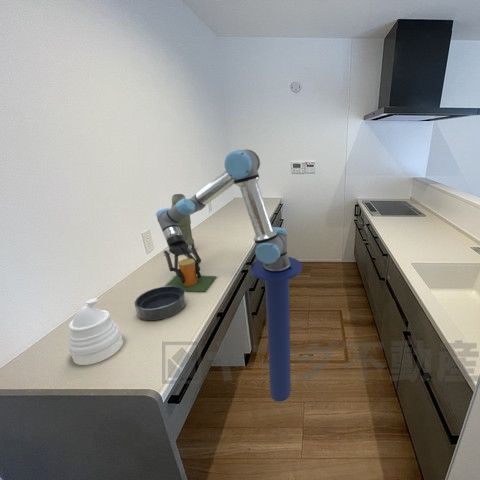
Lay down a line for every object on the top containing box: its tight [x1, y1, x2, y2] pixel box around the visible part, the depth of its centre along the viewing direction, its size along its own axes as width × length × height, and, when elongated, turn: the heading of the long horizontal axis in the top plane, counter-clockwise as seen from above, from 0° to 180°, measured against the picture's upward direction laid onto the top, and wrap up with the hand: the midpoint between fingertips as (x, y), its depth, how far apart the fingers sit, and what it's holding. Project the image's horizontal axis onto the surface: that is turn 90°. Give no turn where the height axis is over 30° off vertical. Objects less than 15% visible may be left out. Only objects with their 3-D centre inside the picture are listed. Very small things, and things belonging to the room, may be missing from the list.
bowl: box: [134, 285, 187, 321], centre depth 107 cm, size 17×17×6 cm
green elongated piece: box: [170, 193, 195, 254], centre depth 157 cm, size 9×12×35 cm
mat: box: [165, 274, 217, 293], centre depth 126 cm, size 20×14×1 cm
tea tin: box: [178, 258, 197, 286], centre depth 124 cm, size 7×7×11 cm
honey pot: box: [67, 297, 124, 366], centre depth 83 cm, size 13×13×18 cm
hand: (191, 279), depth 123 cm, fingers closed on tea tin, 7 cm apart
